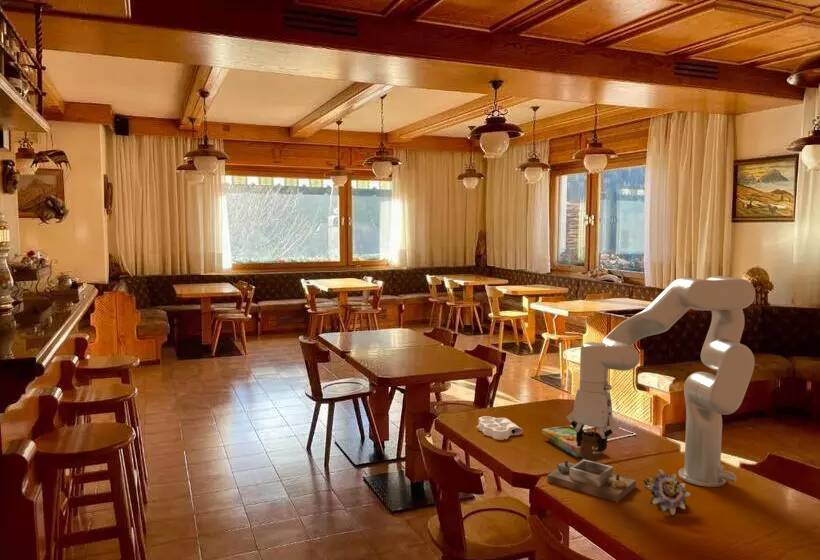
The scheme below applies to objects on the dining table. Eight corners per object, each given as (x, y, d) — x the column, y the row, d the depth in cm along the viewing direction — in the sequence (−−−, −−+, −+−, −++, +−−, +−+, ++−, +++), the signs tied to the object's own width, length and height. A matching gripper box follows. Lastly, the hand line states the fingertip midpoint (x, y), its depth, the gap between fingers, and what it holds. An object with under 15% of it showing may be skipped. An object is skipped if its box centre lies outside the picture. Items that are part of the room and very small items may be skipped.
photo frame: (600, 419, 235) (636, 433, 219) (600, 422, 235) (636, 436, 219) (570, 425, 228) (605, 439, 212) (570, 427, 228) (605, 443, 212)
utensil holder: (576, 457, 176) (577, 417, 175) (587, 452, 181) (588, 412, 180) (594, 463, 172) (596, 421, 171) (605, 457, 177) (607, 416, 176)
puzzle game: (575, 445, 196) (541, 426, 215) (575, 459, 197) (541, 439, 215) (605, 441, 200) (570, 423, 219) (605, 455, 201) (570, 435, 219)
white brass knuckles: (526, 438, 217) (488, 442, 213) (505, 422, 235) (469, 426, 231) (526, 429, 217) (488, 432, 213) (505, 414, 234) (469, 417, 230)
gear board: (635, 487, 175) (636, 470, 175) (617, 502, 165) (617, 484, 165) (567, 468, 189) (568, 452, 189) (547, 481, 179) (547, 464, 179)
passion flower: (670, 534, 159) (655, 505, 154) (643, 508, 169) (627, 480, 164) (703, 507, 161) (689, 477, 156) (674, 483, 171) (659, 455, 166)
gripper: (628, 389, 172) (625, 451, 173) (571, 378, 183) (569, 437, 185) (617, 394, 166) (615, 459, 168) (559, 383, 178) (557, 444, 179)
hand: (591, 447), depth 176 cm, fingers closed on utensil holder, 5 cm apart
